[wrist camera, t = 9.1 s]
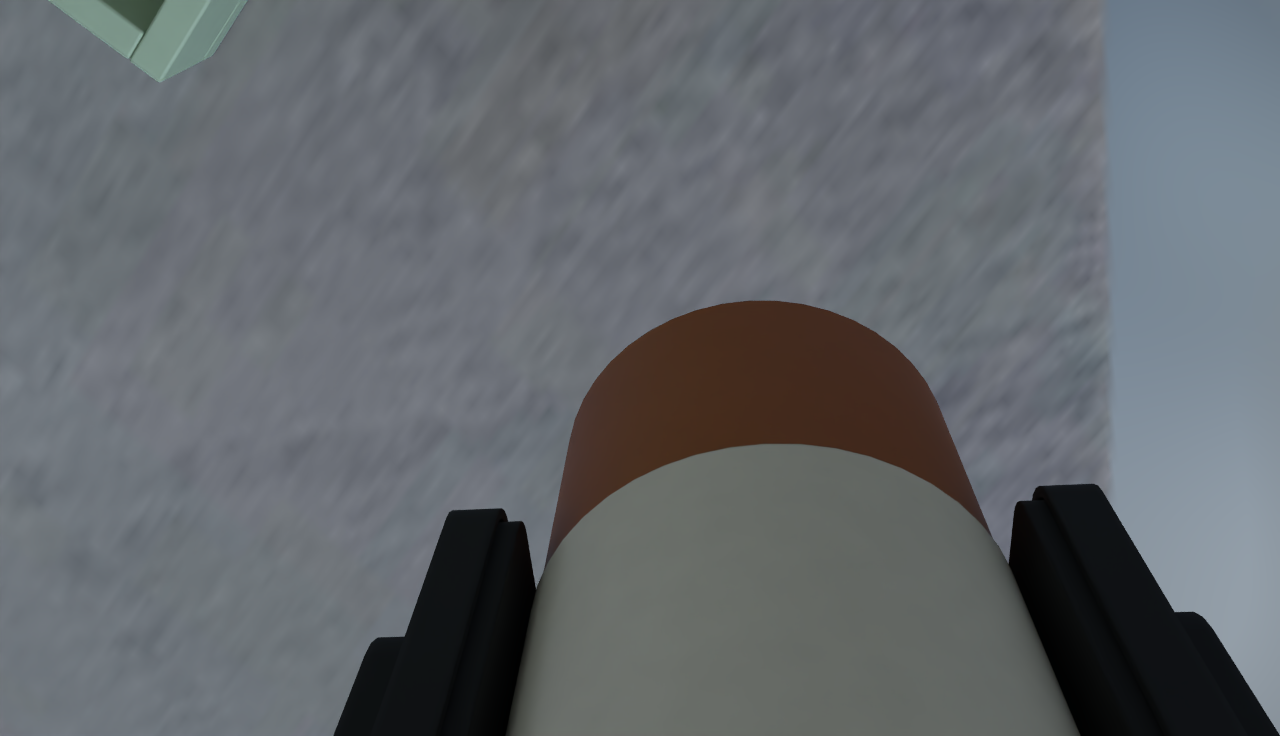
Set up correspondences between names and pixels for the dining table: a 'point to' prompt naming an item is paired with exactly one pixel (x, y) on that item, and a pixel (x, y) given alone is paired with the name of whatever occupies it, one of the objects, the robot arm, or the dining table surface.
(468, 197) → the dining table surface
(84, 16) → the tray
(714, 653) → the spice bottle
